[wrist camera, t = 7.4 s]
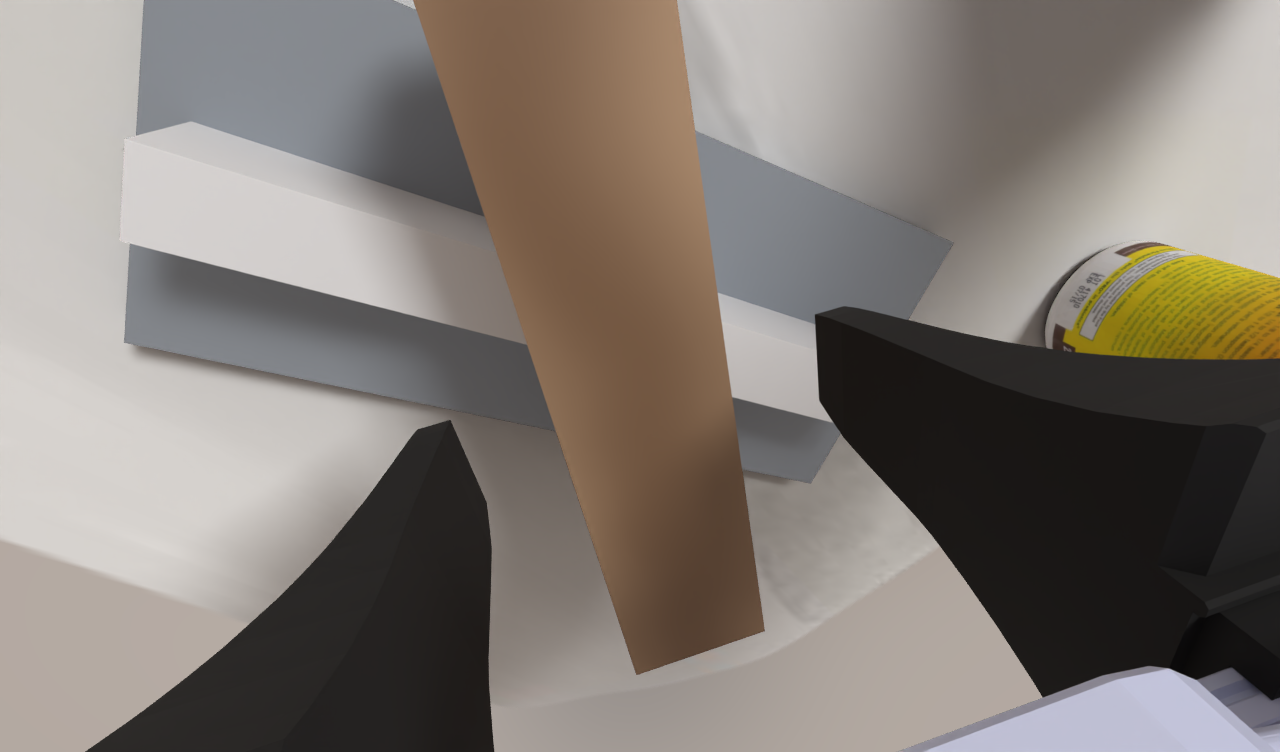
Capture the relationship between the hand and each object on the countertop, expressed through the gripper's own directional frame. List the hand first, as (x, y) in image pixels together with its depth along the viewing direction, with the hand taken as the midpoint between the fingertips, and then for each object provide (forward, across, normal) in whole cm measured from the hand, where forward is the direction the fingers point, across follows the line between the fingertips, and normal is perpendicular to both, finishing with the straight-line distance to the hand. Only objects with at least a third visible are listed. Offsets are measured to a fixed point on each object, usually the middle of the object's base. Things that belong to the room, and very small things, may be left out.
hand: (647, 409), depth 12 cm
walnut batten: (+4, 0, 0) cm, 4 cm away
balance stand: (+8, 0, 0) cm, 8 cm away
